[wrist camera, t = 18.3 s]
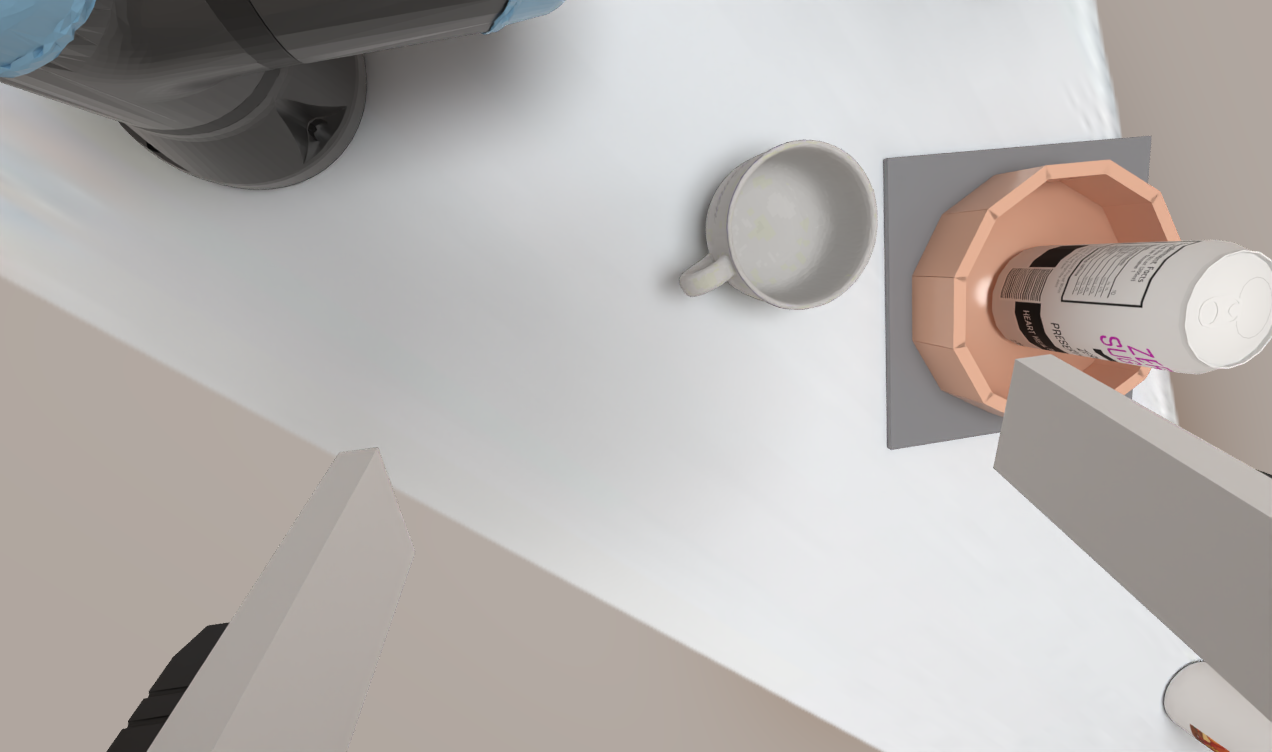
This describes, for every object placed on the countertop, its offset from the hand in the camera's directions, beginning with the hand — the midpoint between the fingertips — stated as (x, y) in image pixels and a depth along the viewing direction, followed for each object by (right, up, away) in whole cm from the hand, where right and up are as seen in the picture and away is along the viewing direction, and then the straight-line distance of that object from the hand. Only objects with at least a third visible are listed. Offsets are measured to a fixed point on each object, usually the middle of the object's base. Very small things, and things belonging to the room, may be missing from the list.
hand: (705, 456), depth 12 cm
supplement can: (+31, +8, +37) cm, 49 cm away
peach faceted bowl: (+31, +9, +38) cm, 50 cm away
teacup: (+7, +12, +34) cm, 37 cm away
